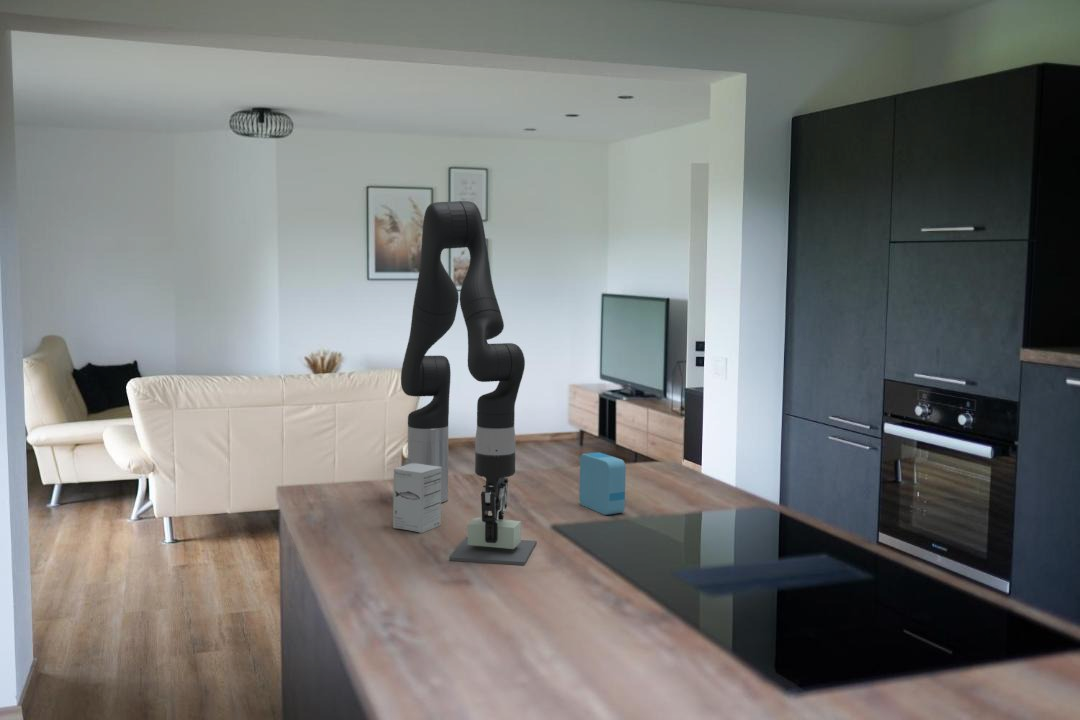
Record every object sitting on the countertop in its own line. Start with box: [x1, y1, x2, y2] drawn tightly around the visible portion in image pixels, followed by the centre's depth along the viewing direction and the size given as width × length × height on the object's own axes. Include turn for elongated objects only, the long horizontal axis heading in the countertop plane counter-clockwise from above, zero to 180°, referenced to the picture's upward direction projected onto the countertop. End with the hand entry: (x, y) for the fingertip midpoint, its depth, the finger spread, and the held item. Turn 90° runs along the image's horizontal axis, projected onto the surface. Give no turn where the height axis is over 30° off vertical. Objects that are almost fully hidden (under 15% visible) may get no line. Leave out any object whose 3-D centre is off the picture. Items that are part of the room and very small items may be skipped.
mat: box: [448, 536, 537, 566], centre depth 187 cm, size 14×14×1 cm
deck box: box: [467, 517, 522, 549], centre depth 186 cm, size 5×9×4 cm, turn 76°
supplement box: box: [392, 463, 442, 534], centre depth 203 cm, size 7×7×13 cm
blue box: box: [578, 452, 627, 516], centre depth 220 cm, size 12×4×12 cm, turn 30°
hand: (494, 537), depth 187 cm, fingers closed on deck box, 5 cm apart
